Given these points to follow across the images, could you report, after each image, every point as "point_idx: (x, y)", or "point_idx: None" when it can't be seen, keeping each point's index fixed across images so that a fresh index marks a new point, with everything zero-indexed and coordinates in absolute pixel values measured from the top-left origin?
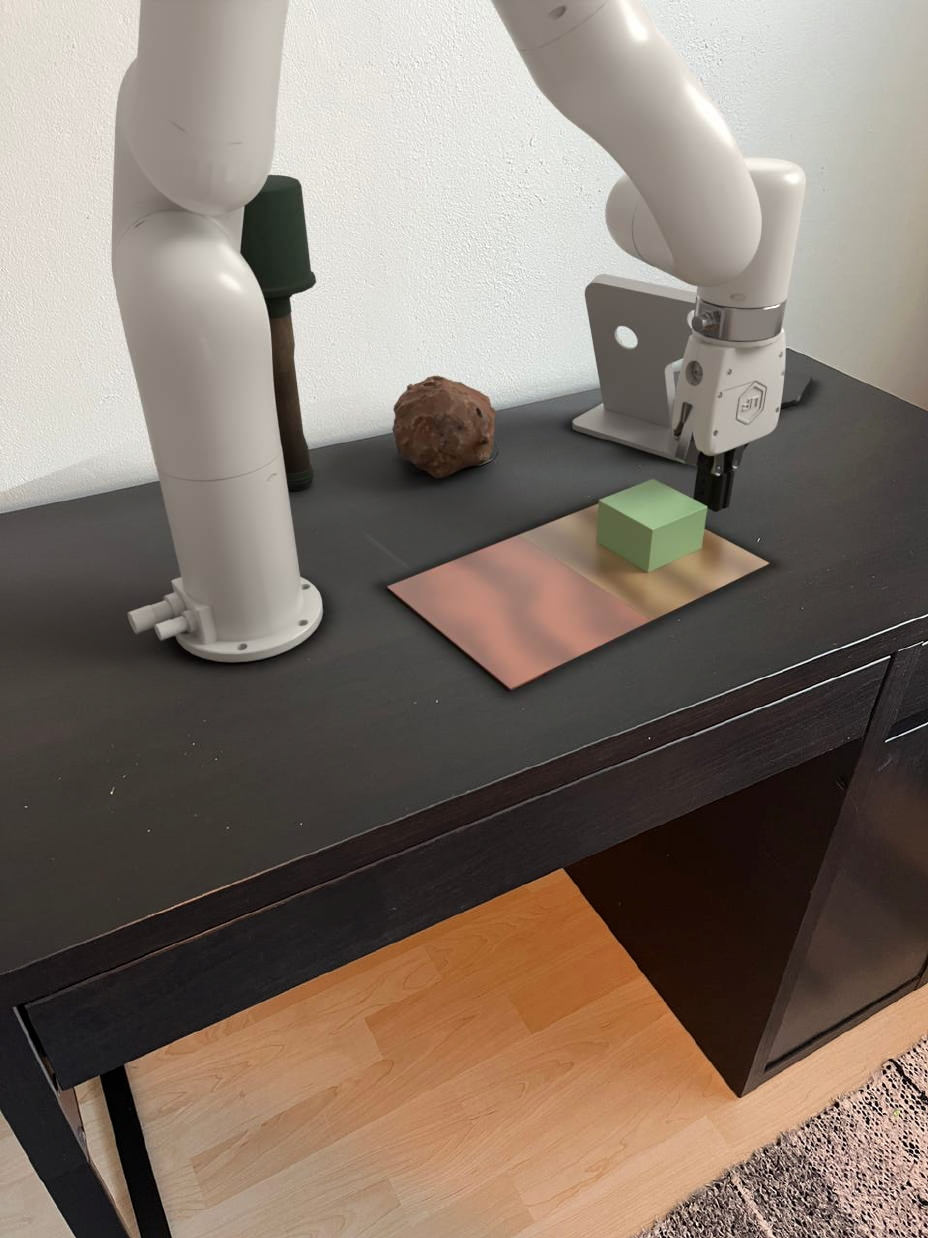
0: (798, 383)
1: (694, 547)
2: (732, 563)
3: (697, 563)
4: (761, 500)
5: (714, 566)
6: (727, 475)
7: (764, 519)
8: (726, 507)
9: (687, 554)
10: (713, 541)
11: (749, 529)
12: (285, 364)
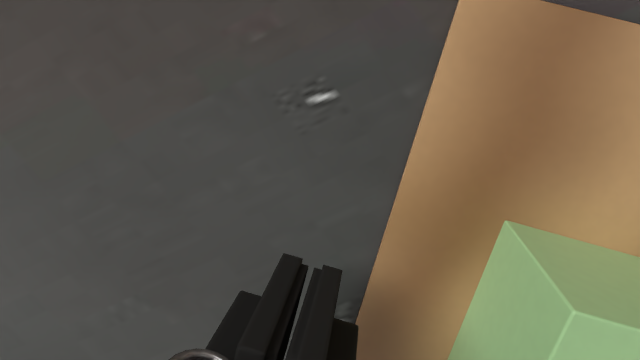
0: None
1: (547, 237)
2: (546, 91)
3: (609, 189)
4: (92, 200)
5: (599, 133)
6: (277, 355)
7: (188, 141)
8: (294, 256)
9: (575, 239)
10: (435, 208)
11: (277, 151)
12: None
